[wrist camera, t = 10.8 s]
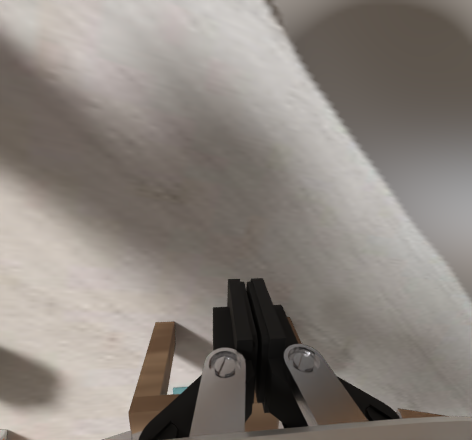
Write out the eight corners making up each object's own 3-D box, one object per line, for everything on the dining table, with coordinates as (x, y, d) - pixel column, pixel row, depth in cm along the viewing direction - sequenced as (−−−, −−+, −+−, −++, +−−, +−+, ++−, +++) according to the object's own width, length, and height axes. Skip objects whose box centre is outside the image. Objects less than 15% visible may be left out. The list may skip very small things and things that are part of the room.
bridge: (155, 322, 28) (128, 412, 18) (289, 317, 29) (326, 398, 20) (157, 344, 28) (132, 441, 19) (287, 338, 30) (321, 425, 21)
